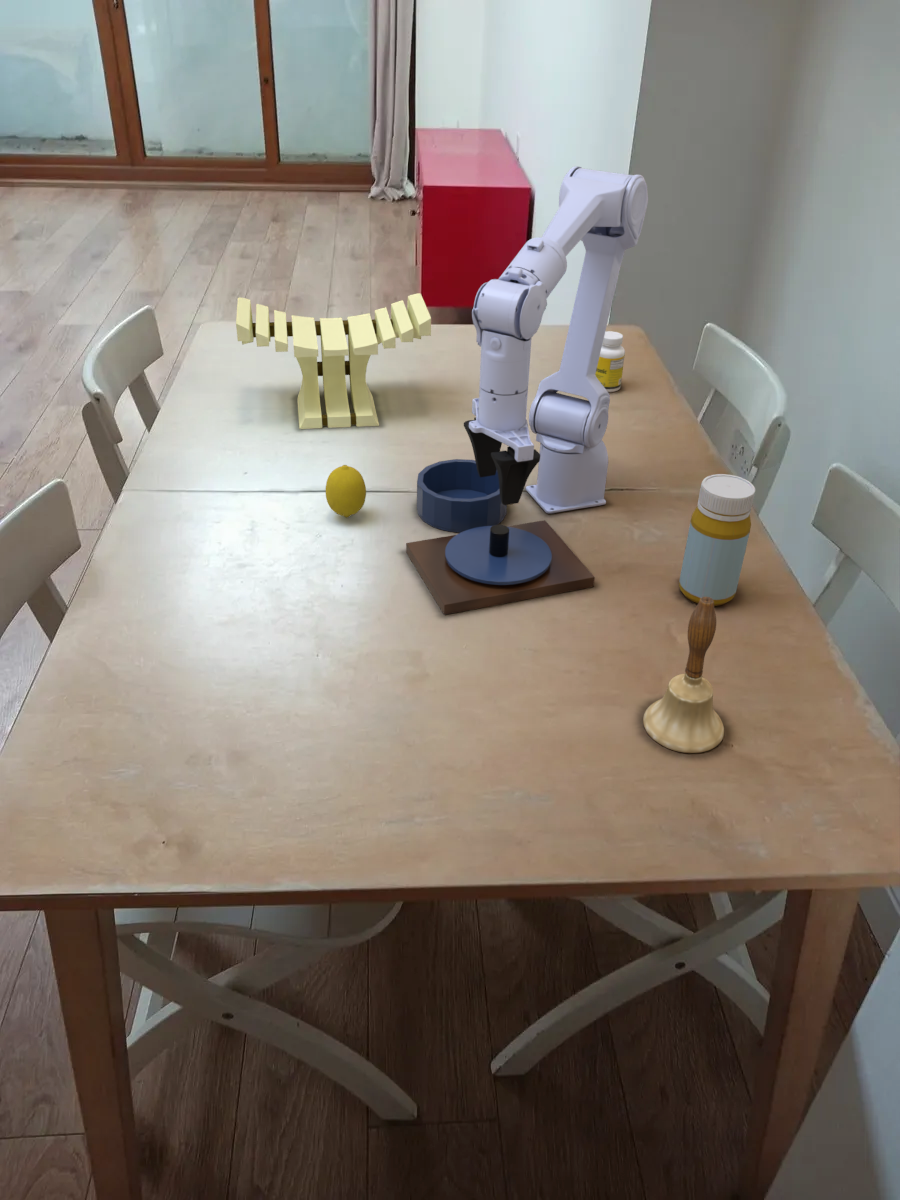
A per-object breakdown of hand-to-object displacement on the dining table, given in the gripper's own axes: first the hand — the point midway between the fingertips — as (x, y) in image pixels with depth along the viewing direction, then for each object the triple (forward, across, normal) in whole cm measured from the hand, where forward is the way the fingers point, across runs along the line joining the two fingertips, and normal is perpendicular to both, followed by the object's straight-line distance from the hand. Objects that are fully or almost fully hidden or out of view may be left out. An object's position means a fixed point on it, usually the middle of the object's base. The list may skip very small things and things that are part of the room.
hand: (498, 488), depth 122 cm
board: (+10, +3, -1) cm, 11 cm away
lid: (+8, +3, -1) cm, 9 cm away
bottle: (+10, +16, +22) cm, 29 cm away
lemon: (+10, -16, -16) cm, 25 cm away
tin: (+10, -13, 0) cm, 17 cm away
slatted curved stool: (+11, -53, -7) cm, 55 cm away
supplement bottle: (+11, -48, +42) cm, 65 cm away
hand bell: (+10, +37, +6) cm, 39 cm away
